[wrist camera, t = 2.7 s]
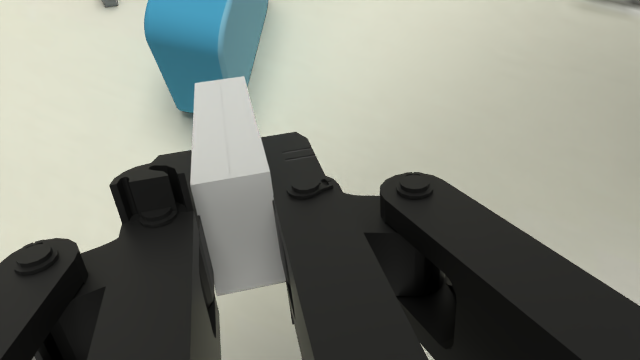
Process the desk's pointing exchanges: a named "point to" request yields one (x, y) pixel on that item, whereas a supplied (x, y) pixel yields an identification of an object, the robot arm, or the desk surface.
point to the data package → (202, 41)
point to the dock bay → (110, 3)
